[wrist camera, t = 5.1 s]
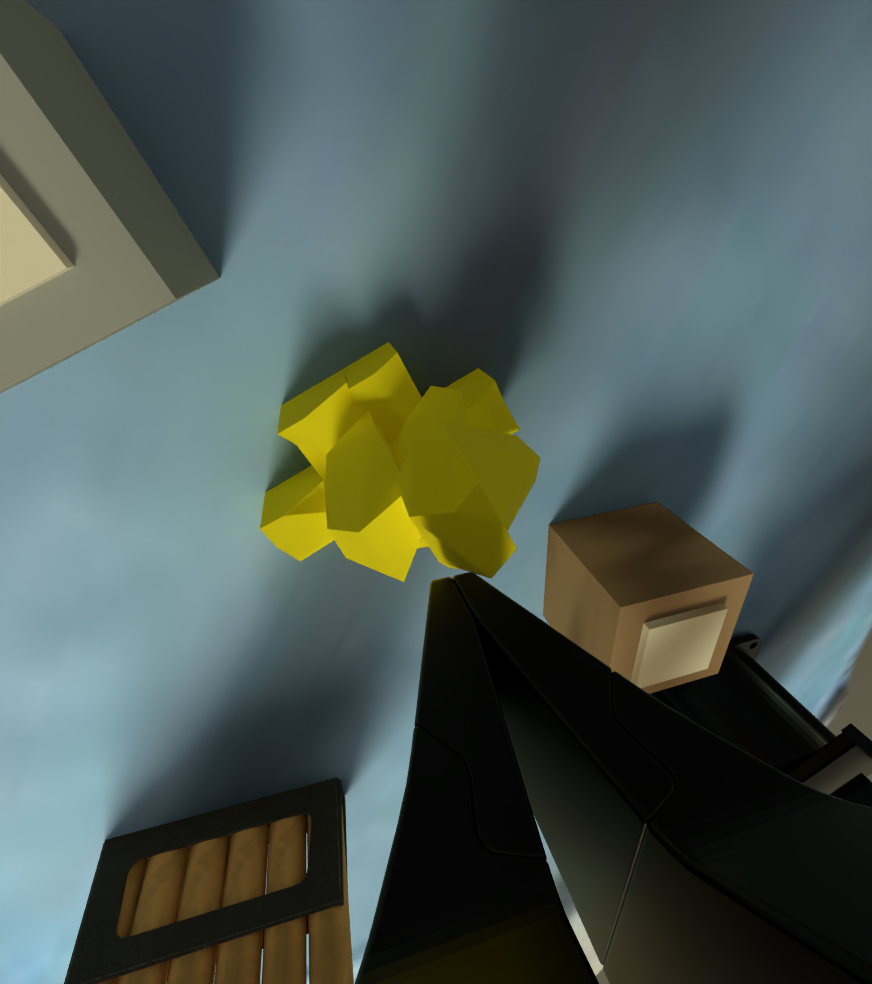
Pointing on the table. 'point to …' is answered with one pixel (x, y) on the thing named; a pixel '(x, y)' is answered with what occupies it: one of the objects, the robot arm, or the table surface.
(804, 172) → the table surface
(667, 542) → the walnut tagged block
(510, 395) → the table surface
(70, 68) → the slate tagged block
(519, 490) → the crumpled paper
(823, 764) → the robot arm
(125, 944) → the ammunition clip
